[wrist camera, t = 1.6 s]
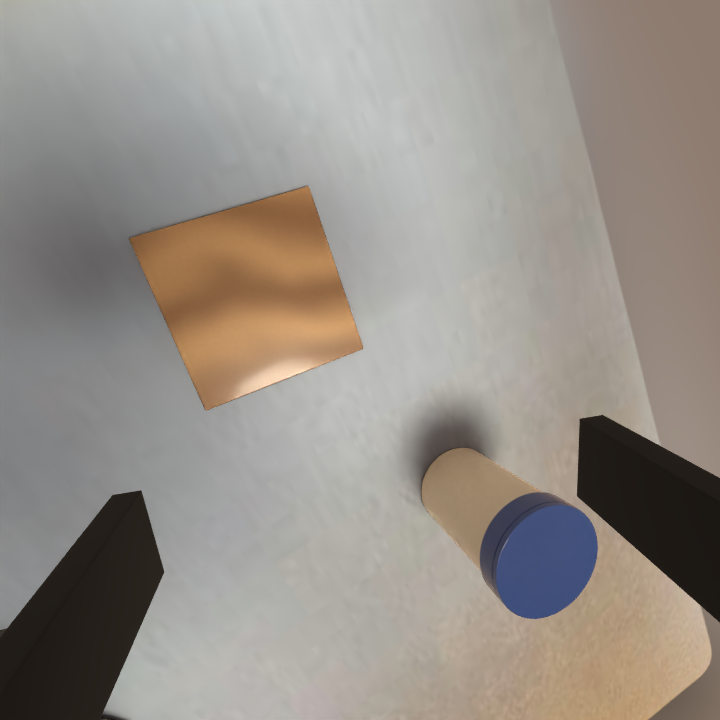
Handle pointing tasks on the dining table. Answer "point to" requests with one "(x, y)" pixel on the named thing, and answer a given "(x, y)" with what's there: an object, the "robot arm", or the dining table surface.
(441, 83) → the dining table surface
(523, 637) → the dining table surface
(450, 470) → the jar
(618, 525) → the robot arm
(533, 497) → the lid
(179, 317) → the coaster
